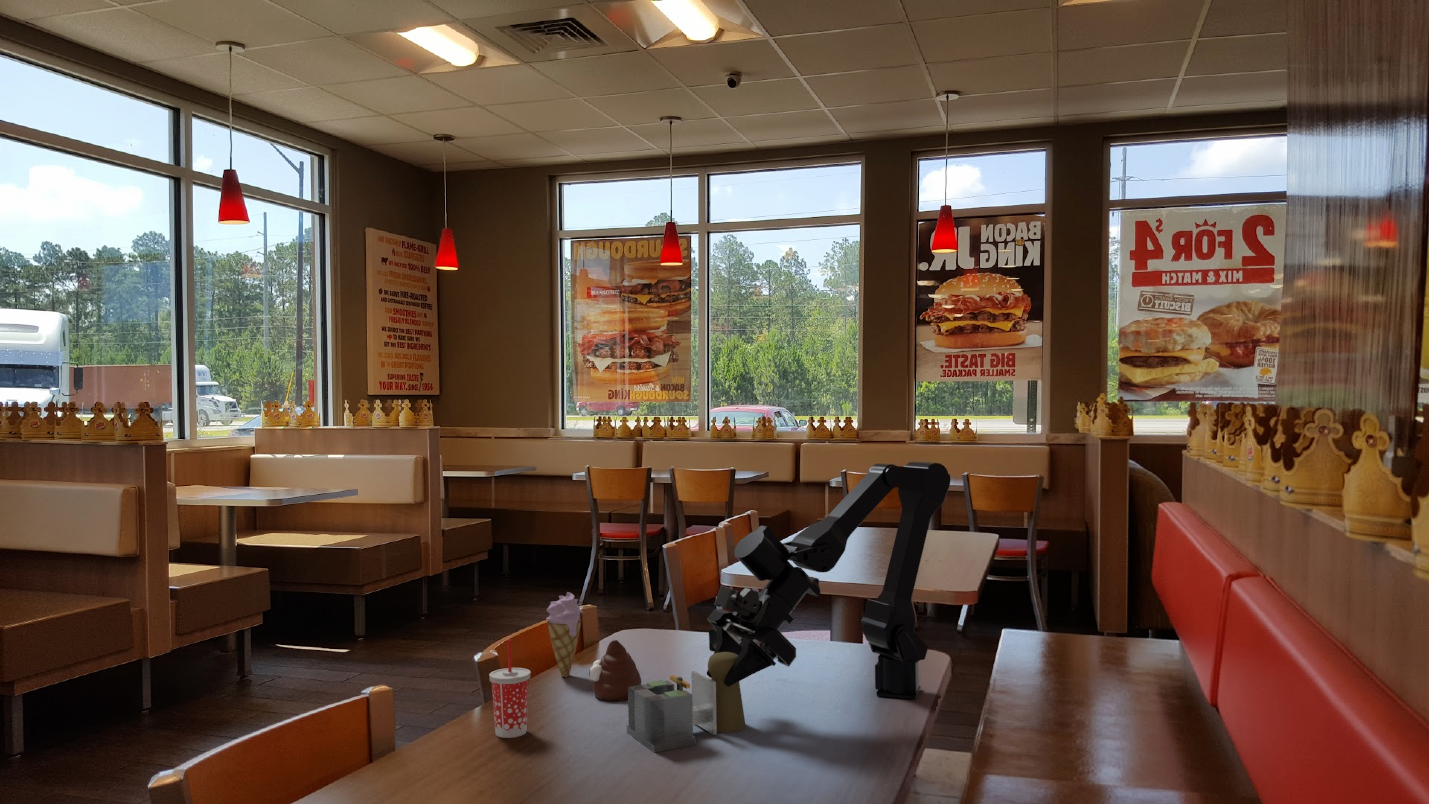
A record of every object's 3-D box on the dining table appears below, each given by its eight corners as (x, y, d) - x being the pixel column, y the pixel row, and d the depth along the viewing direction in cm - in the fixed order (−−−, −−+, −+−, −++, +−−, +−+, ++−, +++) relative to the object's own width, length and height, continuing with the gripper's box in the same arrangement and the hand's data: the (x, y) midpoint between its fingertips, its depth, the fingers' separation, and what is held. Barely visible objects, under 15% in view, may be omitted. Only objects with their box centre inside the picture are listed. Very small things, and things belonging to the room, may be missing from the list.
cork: (741, 733, 147) (740, 659, 147) (702, 731, 148) (700, 657, 148) (748, 720, 153) (747, 649, 153) (710, 718, 154) (709, 647, 154)
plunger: (695, 721, 152) (694, 668, 152) (716, 734, 146) (715, 679, 146) (668, 726, 150) (667, 672, 150) (689, 739, 144) (688, 683, 144)
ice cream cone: (591, 674, 180) (590, 592, 180) (568, 683, 175) (567, 598, 175) (563, 669, 184) (562, 589, 184) (540, 678, 179) (539, 594, 179)
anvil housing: (666, 725, 151) (665, 678, 151) (695, 744, 142) (694, 694, 142) (626, 732, 148) (625, 684, 148) (654, 752, 139) (653, 701, 139)
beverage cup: (539, 728, 151) (537, 636, 151) (518, 741, 145) (516, 645, 145) (503, 724, 153) (502, 633, 153) (482, 737, 147) (480, 643, 147)
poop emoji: (638, 702, 164) (637, 645, 164) (587, 702, 164) (586, 646, 164) (643, 685, 174) (642, 631, 174) (595, 685, 174) (594, 632, 174)
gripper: (717, 558, 161) (656, 635, 155) (777, 575, 144) (711, 661, 139) (759, 602, 164) (701, 678, 159) (823, 623, 148) (761, 708, 143)
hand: (717, 680), depth 150 cm, fingers closed on cork, 5 cm apart
